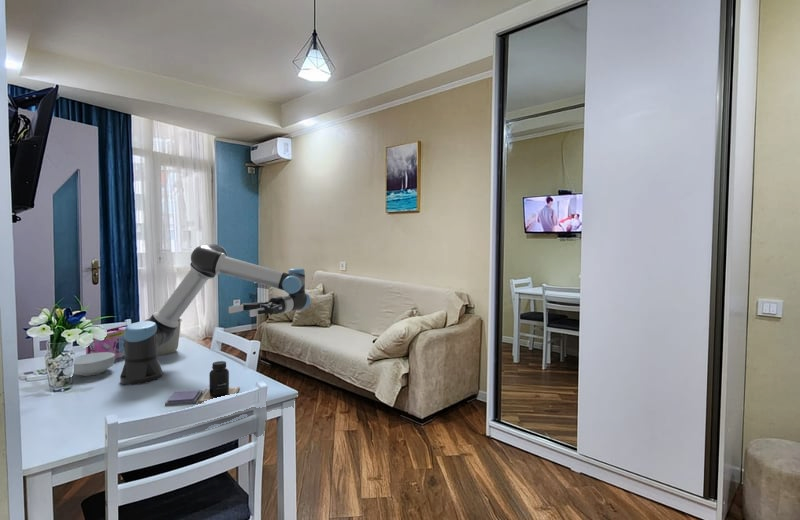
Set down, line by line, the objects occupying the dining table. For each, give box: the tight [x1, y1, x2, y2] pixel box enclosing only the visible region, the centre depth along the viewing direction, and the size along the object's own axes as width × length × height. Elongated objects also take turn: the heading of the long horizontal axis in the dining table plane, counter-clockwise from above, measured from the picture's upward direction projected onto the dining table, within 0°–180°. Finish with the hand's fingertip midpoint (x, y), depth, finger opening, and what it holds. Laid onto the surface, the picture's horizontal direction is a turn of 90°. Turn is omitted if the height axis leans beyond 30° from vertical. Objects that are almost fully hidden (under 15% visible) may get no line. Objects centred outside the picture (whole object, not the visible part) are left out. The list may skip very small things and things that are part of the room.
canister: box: [144, 317, 183, 356], centre depth 213 cm, size 18×18×21 cm
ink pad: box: [164, 389, 203, 407], centre depth 153 cm, size 10×10×2 cm
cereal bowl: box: [73, 352, 116, 377], centre depth 181 cm, size 17×17×7 cm
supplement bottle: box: [208, 360, 230, 397], centre depth 156 cm, size 7×7×12 cm
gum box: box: [85, 324, 129, 360], centre depth 204 cm, size 24×8×14 cm, turn 167°
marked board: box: [196, 386, 240, 405], centre depth 157 cm, size 12×12×1 cm
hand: (239, 311), depth 168 cm, fingers open, 13 cm apart
